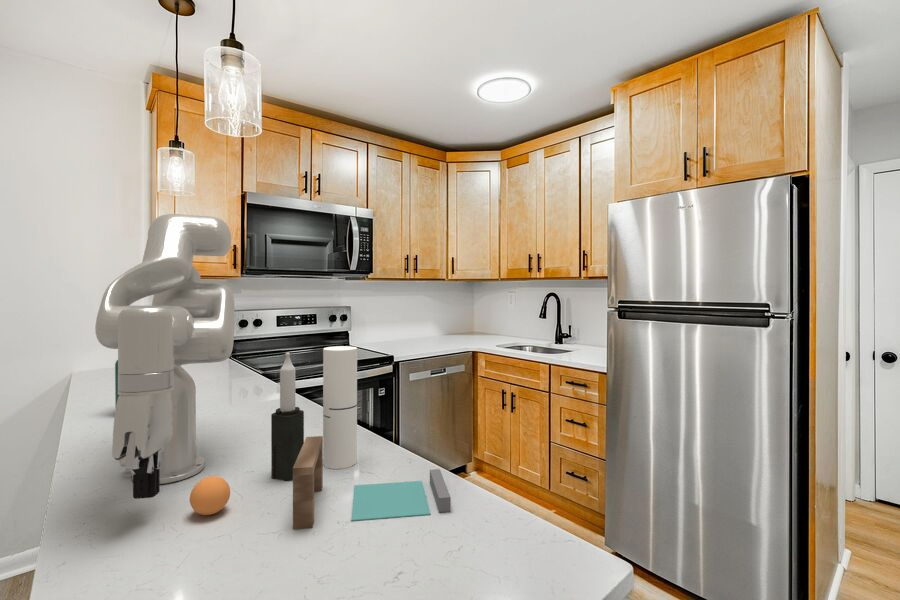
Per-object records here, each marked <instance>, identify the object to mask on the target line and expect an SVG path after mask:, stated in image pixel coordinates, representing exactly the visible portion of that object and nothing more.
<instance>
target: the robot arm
mask: <svg viewBox="0 0 900 600" xmlns="http://www.w3.org/2000/svg"><path fill="white" fill-rule="evenodd" d="M231 246H232V234H231V229H230V228H229V226H228V224H227V223H226V222H225V220H223V219H221V218H219V217H215V216H208V215H198V214H197V215H194V214H180V213H179V214H178V213H176V214H175V213H167V214H162V215H160V216H158V217H156V218H154V220H153V221H152V222H151V225H150V226H149V228H148V232H147V239H146V245H145V249H144V252H143V257H142V261H141V263H139V264H136V265H134V266H133V267H131V268H129V269H128V270H127V271H125V272H123V273H122V274H120V276H118V277H117V278H115V279H114V280H113V281H112V282H111V283H109V285H108V286H107V287H106V289H105V290H104V293H103V294H102V298H101V301H100V305H99V309H98V312H97V314H96V315H97V316H96V319H95V326H94V327H95V328H94V329H95V331H94V333H95V335H96V339H97V341H98V343H99V344H100V345H102V346H103V347H105V348H107V349H112V350H117V360H118V395H120V396H118V400H117V405H116V410H115V409H114V410H115V411H114V418H113V428H112V429H113V431H112V446H111V447H112V449H111V451H112V455H111V456H112V458H113V459H112V460H114V461H119V463H120V467H121V468H124V470H125V471H129V470H130V471H131V480H132V498H133V499H135V500H137V499H151V498H155V497H156V496H157V495H158V494H160V491H161V490H160V485H163V484H164V485H165V484H169V483H174V482H175V483H176V482H178V481H182V480H185V479H188V478H190V477H194V476H195V475H197V474H199V473H200V472H201V471H202V470H203V469H204V468H205V466H206V465H205V462H206V461H205V459H204V458H203V457H200V456H197V418H196V417H197V415H196V414H197V413H196V412H197V410H196V409H197V404H196V403H197V402H196V399H197V398H196V397H197V395H196V393H197V390H196V384H195V381H194V379H193V377H192V376H191V375H190V374H189V372H187V370H185V369H184V368H183V367H182V366H185V365H192V364H193V365H195V364H213V363H220V362H224V361H227V360H228V359H229V358H230V357H231V355H232V352H233V348H234V341H235V340H234V339H235V308H236V307H235V297H234V294H233V291H232V289H231V288H230V287H229V286H227V285H226V284H223V283H214V282H213V283H212V282H210V283H209V282H201V274H200V272H199V270H198V269H197V268H196V267H195V266H194V265H193V262H194V261H193V260H194V256H201V257H202V256H203V257H225V256H226V255H228V254H229V252H230V249H231ZM150 296H153V297H152V303H151V305H133V304H134V303H135V302H137V301H139V300H141V299H144V298H146V297H150Z"/></svg>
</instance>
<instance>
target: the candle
mask: <svg viewBox="0 0 900 600" xmlns="http://www.w3.org/2000/svg"><path fill="white" fill-rule="evenodd" d="M290 356H291V353H290V352H289V351H287V352H285V359H284V362H283V365H282V366H281V367H280V369H279V407H278V408H276V409H275V412H273V413H271V417H270V418H271V419H270V424H271V430H270V431H271V435H270V437H271V442H270V443H271V444H270V445H271V451H270V452H271V454H270V455H271V458H270V459H271V461H270V463H271V465H270V466H271V468H270V469H271V479H272V480H273V479H275V480H280V481H284V482H291V481H293V467H294V464H295V462H296V460H297V457H298V455H299V453H300V450H301V448H302V446H303V444H304V441H305V427H304V426H305V424H304V423H305V411H304V410H302V409H300V407H298V406H296V367H295V366H294V365H293V363H292V359H291V357H290Z"/></svg>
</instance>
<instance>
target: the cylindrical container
mask: <svg viewBox="0 0 900 600" xmlns="http://www.w3.org/2000/svg"><path fill="white" fill-rule="evenodd" d="M322 351H323V352H322V355H323V356H322V360H323V361H322V363H323V364H322V366H323V367H322V369H323V371H322V372H323V373H322V381H323V382H322V390H323V391H322V392H323V393H322V397H323V398H322V426H323V427H322V436H323V467H324V468H326V467H327V469H330V470H331V469H332V470H343V469H346V468H347V467H348V468H350V466H351V467H353V466H355V465H356V464H357V462H358V419H357V418H358V347H356V346H349V345H345V346H344V345H339V346H338V345H336V346H327V347H324V348H323V349H322ZM354 464H355V465H354ZM352 465H353V466H352ZM348 468H347V469H348Z"/></svg>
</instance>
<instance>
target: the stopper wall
mask: <svg viewBox="0 0 900 600" xmlns="http://www.w3.org/2000/svg"><path fill="white" fill-rule="evenodd" d="M429 485H430V489H431V492H432V494H433V498H434V502H435V504H436V508H437V511H438V513H449V512H451V504H452V503H451V494H450V493H449V489H448V487H447V484H446V481H445V480H444V477H443V474H442V471H441V469H440V468H435V469H429Z"/></svg>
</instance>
